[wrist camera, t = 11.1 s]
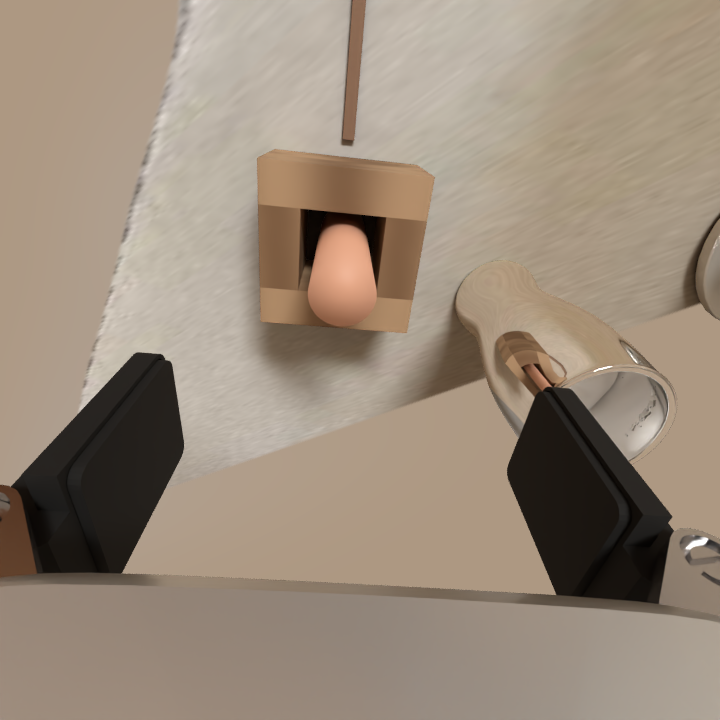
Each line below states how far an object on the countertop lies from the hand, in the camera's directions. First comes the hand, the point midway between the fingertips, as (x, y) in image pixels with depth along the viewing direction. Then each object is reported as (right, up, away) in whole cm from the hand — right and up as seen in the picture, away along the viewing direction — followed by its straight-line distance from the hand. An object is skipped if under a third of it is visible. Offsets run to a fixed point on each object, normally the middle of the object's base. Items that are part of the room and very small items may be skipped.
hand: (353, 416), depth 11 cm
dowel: (-1, +10, +17) cm, 20 cm away
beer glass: (+10, +6, +21) cm, 24 cm away
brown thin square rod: (0, +19, +12) cm, 23 cm away
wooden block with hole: (-1, +10, +17) cm, 20 cm away
